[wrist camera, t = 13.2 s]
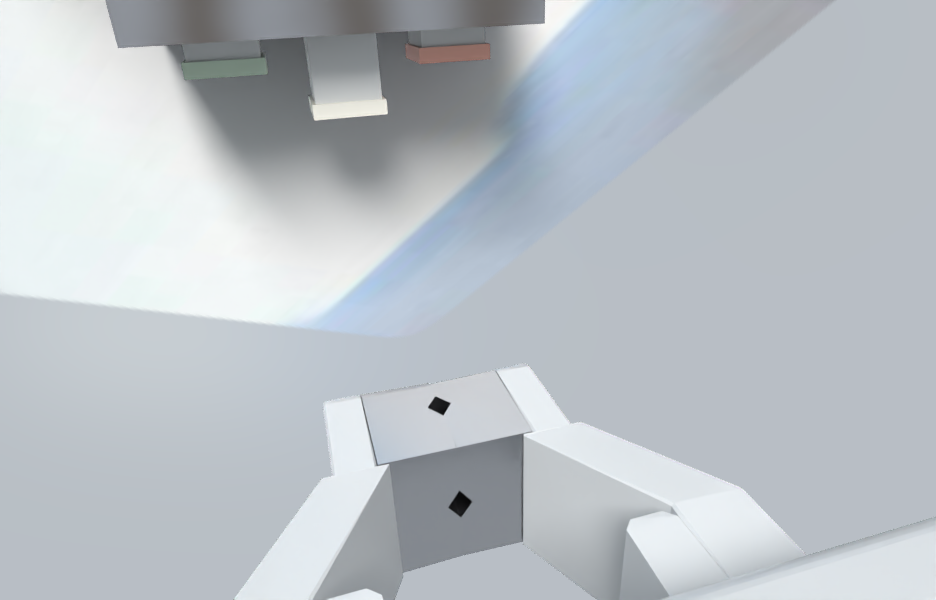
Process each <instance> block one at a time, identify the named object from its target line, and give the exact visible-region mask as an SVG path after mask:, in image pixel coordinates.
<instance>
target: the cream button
mask: <svg viewBox="0 0 936 600" xmlns="http://www.w3.org/2000/svg"><path fill="white" fill-rule="evenodd" d="M304 44H305V51H306V58H307V65H308V72H309V79H310V86H311V93H312V95H308V97H309V104H310V110H311V113H312V115H313V118H314V121H316V120H327V119H338V118H350V117H361V116H373V115H384V114H388V109H387V99H386V98H385V97H383V96H382V90H381V80H380V69H379V59H378V48H377V38H376V33H369V34H351V35H334V36H317V37H304Z"/></svg>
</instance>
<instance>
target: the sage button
mask: <svg viewBox="0 0 936 600" xmlns="http://www.w3.org/2000/svg"><path fill="white" fill-rule="evenodd" d="M182 48H183V53H184V57H185V61H183V62H182V63H181V66H182V70H183V75H184V79H185V80H195V79H209V78H223V77H238V76H252V75H266V74H268V65H267V59H266V53H265V52H261V46H260V41H259V40H247V41H230V42H212V43H195V44H182Z"/></svg>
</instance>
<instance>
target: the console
mask: <svg viewBox="0 0 936 600" xmlns="http://www.w3.org/2000/svg"><path fill="white" fill-rule="evenodd" d="M106 4H107V8H108V12H109V15H110V19H111V23H112V27H113V30H114V34H115V38H116V42H117V45H118V48H126V47H143V46H160V45H178V44H195V43H212V42H230V41H247V40H264V39H282V38H299V37H317V36H334V35H351V34H369V33H386V32H403V31H421V30H438V29H456V28H473V27H490V26H508V25H525V24H542V23H545V0H106Z"/></svg>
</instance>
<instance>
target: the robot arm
mask: <svg viewBox="0 0 936 600" xmlns="http://www.w3.org/2000/svg"><path fill="white" fill-rule="evenodd" d="M360 397H361V398H360ZM360 397H359V396H358V395H356V396H350V397H345V398H340V399H335V400H330V401H325V402H324V405H323V410H324V417H325V424H326V432H327V439H328V447H329V454H330V462H331V470H332V476H330V477H326V478H322V479H321V480H320V481H319V483H318V484H317V485H316V487H315V488H314V490H313V491H312V492H311V494H310V495H309V497H308V498H307V499H306V501H305V502H304V504H303V505H302V506H301V507H300V509H299V510H298V512H297V513H296V514H295V516H294V517H293V518H292V520H291V521H290V523H289V524H288V525H287V527H286V528H285V530H284V531H283V532H282V534H281V535H280V536H279V538H278V539H277V540H276V542H275V543H274V545H273V546H272V547H271V549H270V550H269V552H268V553H267V554H266V556H265V557H264V559H263V560H262V561H261V563H260V564H259V565H258V567H257V568H256V569H255V571H254V572H253V574H252V575H251V576H250V578H249V579H248V580H247V582H246V583H245V585H244V586H243V587H242V589H241V590H240V591H239V593H238V594H237V596H236V597H235V598H234V600H395V597H396V595H397V592H398V589H399V587H400V584H401V581H402V578H403V572H407V571H410V570H414V569H417V568H421V567H424V566H428V565H431V564H435V563H438V562H441V561H445V560H448V559H452V558H455V557H459V556H462V555H466V554H471V553H475V552H479V551H484V550H488V549H492V548H496V547H501V546H505V545H509V544H514V543H518V542H523V544H524V545H525V546H526V547H527V548H529V549H530V550H531V551H533V552H534V553H535V554H537V555H538V556H539V557H541V558H542V559H543V560H545V561H546V562H548V563H549V564H550V565H551V566H553V567H554V568H556V569H557V570H558V571H559V572H561V573H562V574H563V575H565V576H566V577H568V578H569V579H570V580H571V581H573V582H574V583H575V584H577V585H578V586H579V587H581V588H582V589H583V590H585V591H586V592H587V593H589V594H590V595H591V596H593V597H594V598H595V599H597V600H936V517H934V518H930V519H927V520H923V521H920V522H917V523H913V524H910V525H907V526H903V527H900V528H897V529H893V530H890V531H887V532H883V533H880V534H877V535H873V536H870V537H866V538H863V539H860V540H857V541H853V542H850V543H847V544H843V545H840V546H836V547H833V548H830V549H827V550H823V551H820V552H816V553H813V554H810V555H806V554H805V553H804V552H803V551H802V550H801V549H800V548H799V547H798V546H797V545H796V543H795V542H794V541H793V540H792V539H791V538H790V537H789V536H788V535H787V534H786V533H785V532H784V531H783V530H782V529H781V528H780V527H779V526H778V525H777V524H776V523H775V522H774V521H773V520H772V519H771V518H770V517H769V516H768V515H767V514H766V513H765V512H764V510H762V508H760V507H759V505H758V504H757V503H756V502H755V501H754V500H753V499H752V498H751V497H750V496H749V495H748V494H747V493H746V492H745V491H744V490H743V489H742V488H740V487H738V486H736V485H733V484H731V483H728V482H726V481H723V480H721V479H718V478H716V477H714V476H711V475H709V474H706V473H704V472H702V471H699V470H697V469H694V468H692V467H689V466H687V465H685V464H682V463H680V462H677V461H675V460H672V459H670V458H667V457H664V456H663V455H660V454H658V453H655V452H653V451H650V450H648V449H645V448H643V447H641V446H638V445H636V444H633V443H631V442H629V441H626V440H624V439H621V438H619V437H616V436H614V435H612V434H609V433H607V432H604V431H602V430H599V429H597V428H595V427H592V426H589V425H587V424H585V423H582V422H578V423H573V424H571V423H570V421H569V420H568V418H567V417H566V416H565V414H564V413H563V412H562V410H561V409H560V408H559V406H558V405H557V404H556V402H555V401H554V399H553V398H552V397H551V395H550V394H549V392H548V391H547V390H546V388H545V387H544V386H543V384H542V383H541V382H540V380H539V379H538V377H536V375H535V373H534V372H533V371H532V369H531V368H530V366H529V365H527V364H524V363H522V364H517V365H513V366H509V367H504V368H500V369H495V370H492V371H488V372H484V373H479V374H474V375H470V376H465V377H461V378H456V379H451V380H446V381H441V382H436V383H432V384H428V383H427V384H421V385H415V386H409V387H404V388H397V389H392V390H386V391H380V392H374V393H368V394H362V395H360Z"/></svg>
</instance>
